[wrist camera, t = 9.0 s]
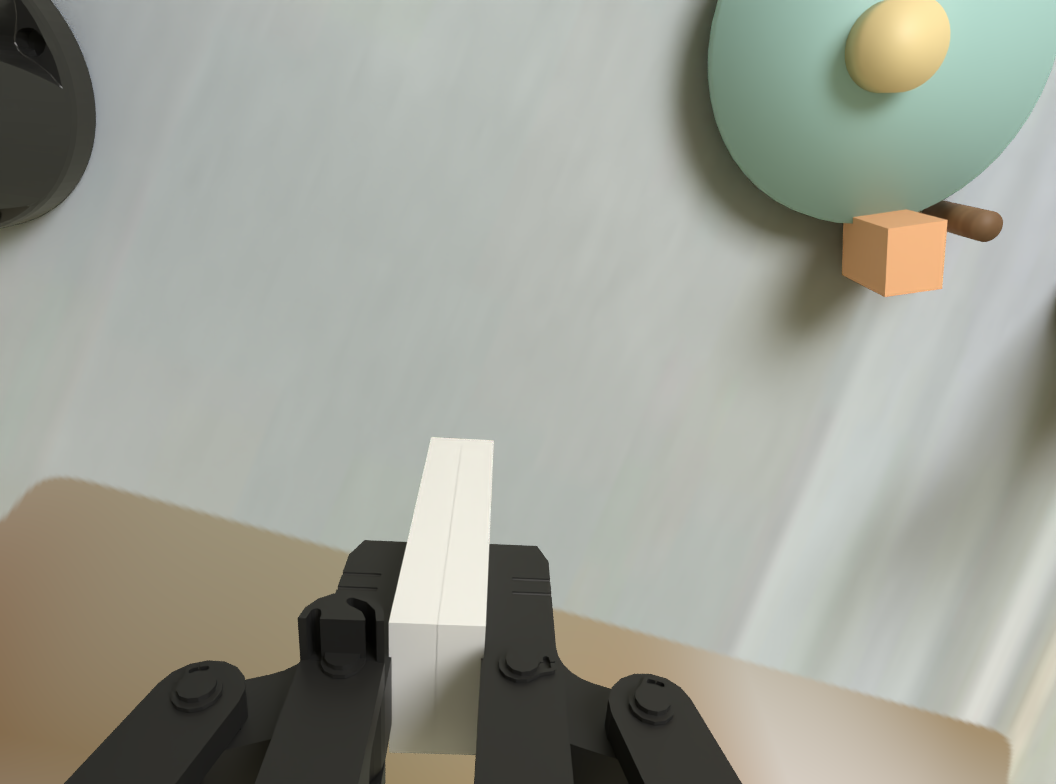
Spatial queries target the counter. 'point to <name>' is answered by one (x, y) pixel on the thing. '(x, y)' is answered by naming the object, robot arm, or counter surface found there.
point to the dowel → (967, 220)
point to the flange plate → (876, 112)
